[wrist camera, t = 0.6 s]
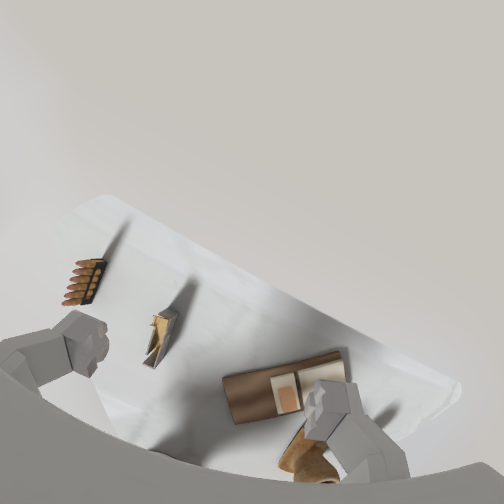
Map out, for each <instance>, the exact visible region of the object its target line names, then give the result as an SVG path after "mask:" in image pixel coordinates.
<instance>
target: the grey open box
mask: <svg viewBox="0 0 504 504" xmlns="http://www.w3.org/2000/svg"><path fill="white" fill-rule="evenodd" d="M178 314H179V312H177V311H174V310H172V309H170V308H167V309H165V310H163V311H162V312H160V313H159V314H158V315H160V316H162V317H164V318H162V317H159V316H155V317H154V320H153V323H152V325H151V324H150V325H151V326H154V330H153V333H152V336H151V339H150V342H149V345H148V349H147V352H146V354H145V355H148V354H149V353H150V352H151V351H152V350H153V349H154V351H153V352H152V354H151V355H150V356H149V357H148V358H147V359H146V360H145V361H144V362H143V365H145V366H147V367H150V368H152V369H155V368H156V367H157V366H158V364H159V363H160V362H161V361H162V359H163V358H164V355H165V352H166V349H167V346H168V343H169V340H170V337H171V334H172V331H173V328H174V325H175V322H176V320H177V317H178ZM153 316H154V315H153ZM166 318H167V319H166ZM168 319H169V320H168ZM168 321H169V322H168Z"/></svg>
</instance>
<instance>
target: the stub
mask: <svg viewBox="0 0 504 504" xmlns="http://www.w3.org/2000/svg"><path fill="white" fill-rule="evenodd" d="M270 380H271V385H272V389H273V394H274V398H275V403H276V407H277V412H278V414H282V413H286V412H290V411H294V410H298V409H300V404H299V398H298V393H297V388H296V382H295V377H294V374H293V373H289V374H285V375H281V376H276V377H272V378H270Z"/></svg>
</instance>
